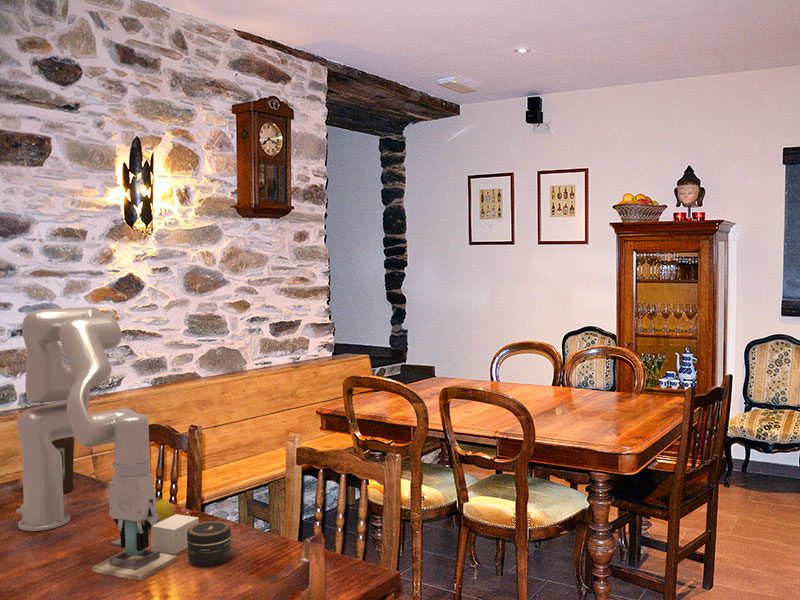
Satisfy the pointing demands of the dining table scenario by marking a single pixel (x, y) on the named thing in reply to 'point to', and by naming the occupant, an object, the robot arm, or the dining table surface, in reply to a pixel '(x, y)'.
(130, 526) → the peg
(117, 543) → the tile
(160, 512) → the lemon
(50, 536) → the dining table surface
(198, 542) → the jar
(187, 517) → the block
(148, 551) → the board
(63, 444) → the olive oil
